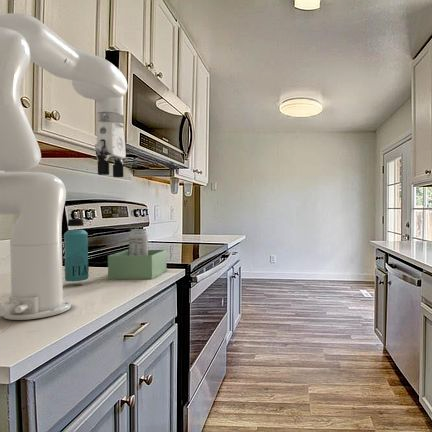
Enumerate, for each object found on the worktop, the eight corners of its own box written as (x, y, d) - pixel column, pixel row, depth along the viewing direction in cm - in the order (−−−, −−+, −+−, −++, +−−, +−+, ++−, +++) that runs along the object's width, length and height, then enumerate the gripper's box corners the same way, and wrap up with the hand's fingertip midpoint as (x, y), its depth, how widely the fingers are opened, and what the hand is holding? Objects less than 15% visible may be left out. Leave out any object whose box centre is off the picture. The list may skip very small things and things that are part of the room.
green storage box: (152, 278, 117) (151, 255, 116) (108, 279, 116) (107, 255, 116) (166, 270, 132) (166, 249, 132) (127, 270, 131) (127, 249, 131)
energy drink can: (152, 271, 126) (151, 229, 125) (140, 274, 120) (139, 230, 120) (138, 270, 128) (137, 228, 127) (125, 273, 122) (125, 230, 121)
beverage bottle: (69, 287, 104) (68, 219, 103) (60, 284, 108) (59, 218, 107) (93, 283, 109) (92, 218, 109) (83, 280, 113) (82, 218, 113)
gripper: (109, 114, 103) (110, 173, 103) (133, 127, 120) (134, 178, 121) (83, 114, 103) (84, 173, 103) (111, 126, 120) (112, 178, 120)
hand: (111, 176), depth 112 cm, fingers open, 9 cm apart
